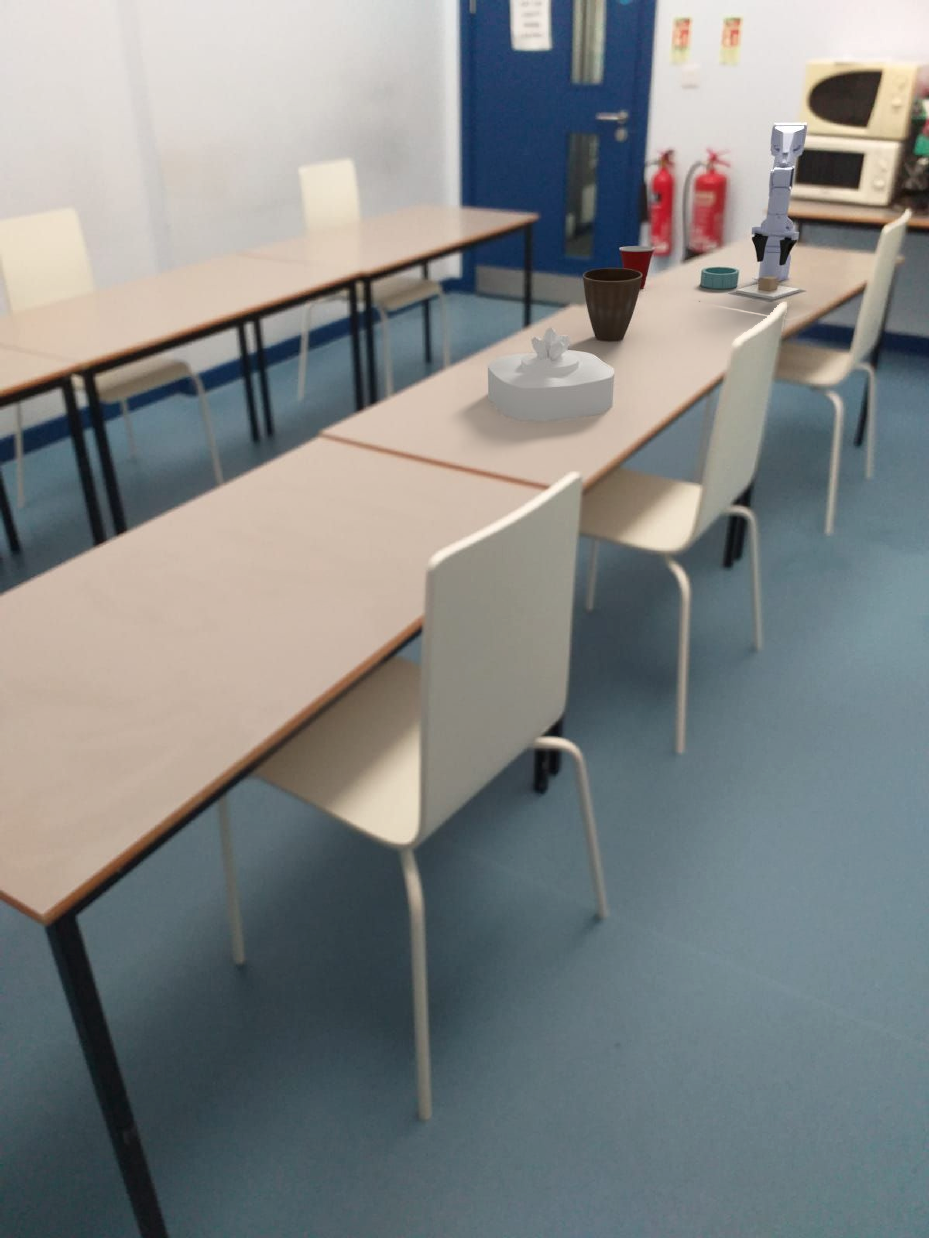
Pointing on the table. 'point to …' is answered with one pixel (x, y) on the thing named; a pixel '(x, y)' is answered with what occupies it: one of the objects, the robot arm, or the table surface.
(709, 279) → the bowl
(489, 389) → the tissue box
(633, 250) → the plastic cup
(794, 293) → the mat
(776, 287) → the lid
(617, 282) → the plant pot
